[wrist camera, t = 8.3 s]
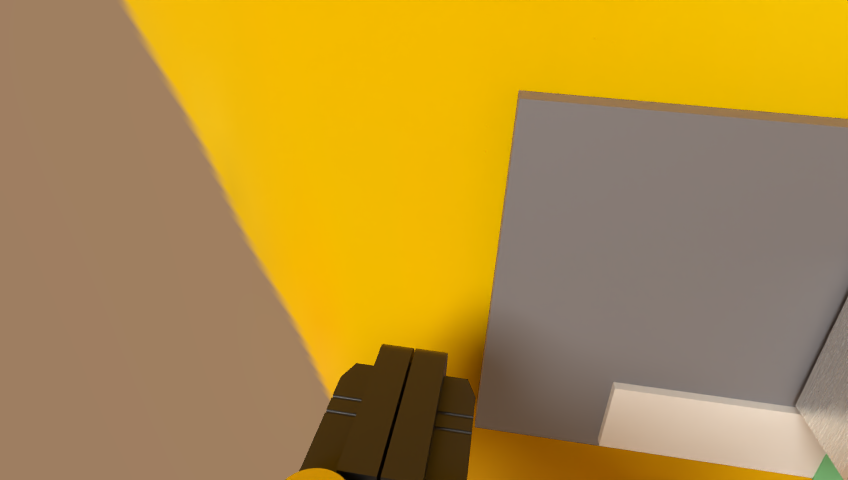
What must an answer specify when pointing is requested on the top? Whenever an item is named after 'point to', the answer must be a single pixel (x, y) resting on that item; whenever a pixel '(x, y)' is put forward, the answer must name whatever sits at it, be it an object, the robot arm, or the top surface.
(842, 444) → the block
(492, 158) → the top surface
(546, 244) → the base
